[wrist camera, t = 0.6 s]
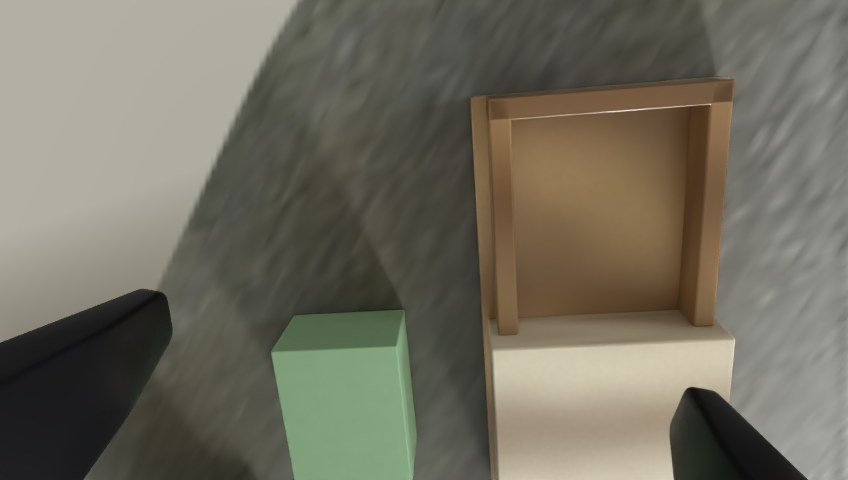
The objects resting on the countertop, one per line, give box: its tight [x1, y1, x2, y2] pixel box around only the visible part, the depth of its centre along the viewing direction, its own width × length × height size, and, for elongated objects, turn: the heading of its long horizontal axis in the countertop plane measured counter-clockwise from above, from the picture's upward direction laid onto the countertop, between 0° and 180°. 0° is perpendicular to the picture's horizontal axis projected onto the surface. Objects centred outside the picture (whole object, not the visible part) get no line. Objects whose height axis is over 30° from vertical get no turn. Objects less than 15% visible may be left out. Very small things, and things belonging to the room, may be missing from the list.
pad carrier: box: [470, 76, 735, 480], centre depth 20 cm, size 16×8×3 cm, turn 5°
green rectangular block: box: [271, 310, 417, 480], centre depth 22 cm, size 6×4×3 cm
